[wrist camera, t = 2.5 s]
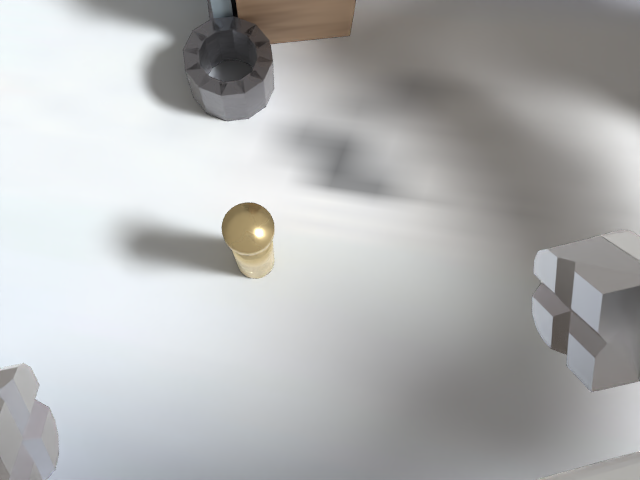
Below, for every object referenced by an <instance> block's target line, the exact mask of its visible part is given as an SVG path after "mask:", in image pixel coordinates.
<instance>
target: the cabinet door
mask: <svg viewBox="0 0 640 480" xmlns="http://www.w3.org/2000/svg"><path fill="white" fill-rule="evenodd" d="M210 2H211V7H212V12H213V17H214V18H223V17H233V10H232V2H231V0H210Z"/></svg>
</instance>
